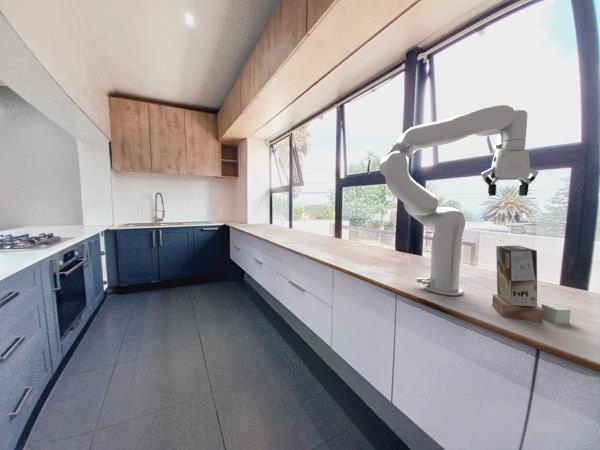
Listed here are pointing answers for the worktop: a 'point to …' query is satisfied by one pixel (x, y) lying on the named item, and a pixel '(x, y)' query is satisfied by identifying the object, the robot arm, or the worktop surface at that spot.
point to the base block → (517, 310)
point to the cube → (556, 313)
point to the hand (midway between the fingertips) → (507, 195)
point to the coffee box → (517, 275)
